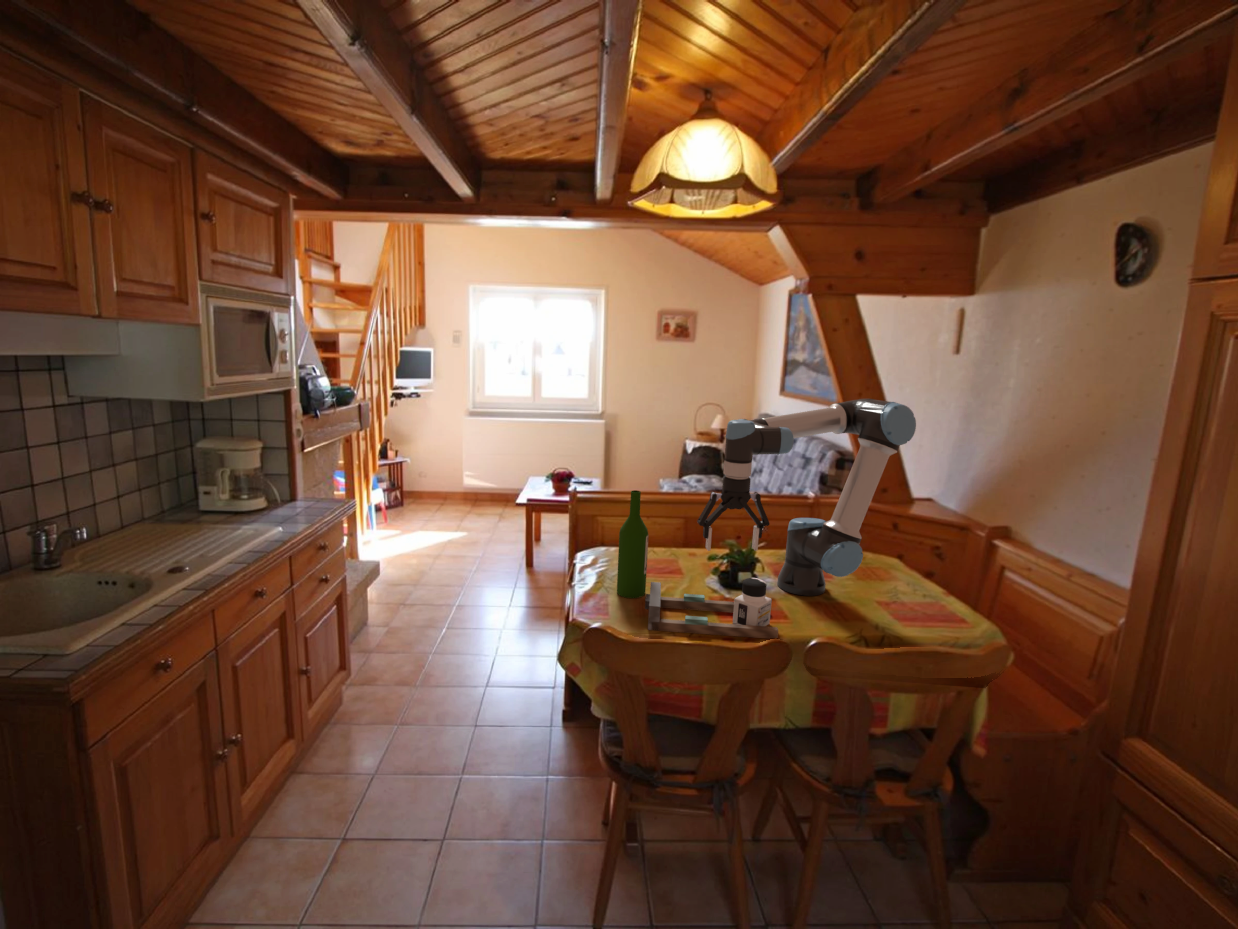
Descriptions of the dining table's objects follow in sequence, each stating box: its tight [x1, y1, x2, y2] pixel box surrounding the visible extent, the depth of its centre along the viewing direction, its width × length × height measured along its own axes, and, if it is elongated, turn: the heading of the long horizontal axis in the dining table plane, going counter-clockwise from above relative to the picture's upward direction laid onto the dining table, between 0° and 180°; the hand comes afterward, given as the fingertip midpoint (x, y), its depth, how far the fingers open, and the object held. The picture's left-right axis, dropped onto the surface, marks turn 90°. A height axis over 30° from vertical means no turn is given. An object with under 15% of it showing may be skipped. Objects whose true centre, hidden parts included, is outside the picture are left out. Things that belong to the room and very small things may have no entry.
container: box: [732, 577, 772, 627], centre depth 177 cm, size 8×8×13 cm
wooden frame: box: [644, 581, 779, 640], centre depth 179 cm, size 36×17×7 cm, turn 86°
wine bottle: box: [616, 490, 649, 599], centre depth 193 cm, size 9×9×32 cm
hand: (731, 549), depth 179 cm, fingers open, 13 cm apart
